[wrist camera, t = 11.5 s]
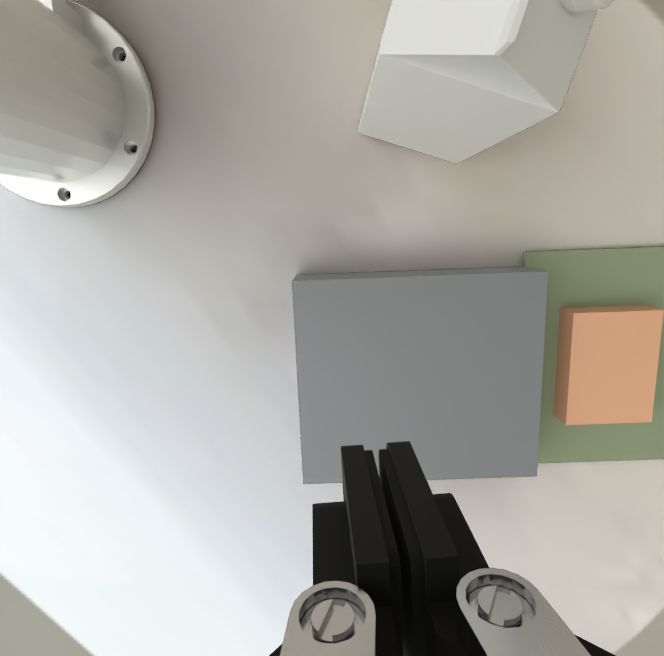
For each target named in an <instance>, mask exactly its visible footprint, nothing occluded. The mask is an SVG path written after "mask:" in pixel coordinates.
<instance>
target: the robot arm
mask: <svg viewBox="0 0 664 656" xmlns="http://www.w3.org/2000/svg"><path fill="white" fill-rule="evenodd" d="M125 55H126V59H125V60H124V61H123V62H122V57H123V56H125ZM154 125H155V118H154V101H153V96H152V91H151V85H150V82H149V80H148V77H147V75H146V72H145V69H144V67H143V65H142V63H141V61H140V60H139V58H138V56H137V55H136V53H135V51H134V49H133V48H132V47H131V45H130V44H129V43H128V42H127V41H126V40H125V38H124V37H123V36H122V35H121V34H120V33H119V32H118V31H117V30H116V29H115V28H114V27H113V26H112V25H111V24H110V23H108V22H107V21H106V20H105V19H104V18H102V17H101V16H99V15H98V14H96V13H95V12H94V11H92V10H91V9H89V8H87V7H85V6H83V5H81V4H78V3H76V2H74V1H72V0H0V184H1V185H2V186H3V187H5V188H6V189H7V190H9V191H10V192H12V193H14V194H16V195H18V196H20V197H22V198H24V199H26V200H29V201H32V202H36V203H39V204H42V205H48V206H56V207H81V206H86V205H91V204H95V203H98V202H100V201H102V200H105V199H107V198H109V197H111V196H113V195H114V194H115V193H117V192H118V191H120V190H121V189H123V188H124V187H125V186H126V185H127V184H128V183H129V182H130V181H131V180H132V179H133V178H134V176H135V175H136V174H137V172H138V171H139V169H140V168H141V166H142V164H143V163H144V161H145V159H146V156H147V154H148V151H149V148H150V145H151V143H152V137H153V131H154ZM134 146H137V151H136V153H134V152H133V147H134ZM69 192H70V193H71V197H70V198H69V196H68V193H69ZM341 462H342V479H343V495H344V502H331V503H318V504H313V586H311V587H310V588H308V589H307V590H305V591H304V592H302V593H301V594H300V596H299V597H298V598H297V599H296V600H295V601H294V604H293V606H292V608H291V611H290V614H289V618H288V623H287V627H286V631H285V636H284V640H283V644H281V645H280V646H279V647H278V648H277V649H276V650H275V651H274V652H273V653H272V654H271V655H269V656H615V655H613V654H611V653H609V652H607V651H605V650H604V649H602V648H600V647H598V646H596V645H594V644H592V643H590V642H588V641H586V640H584V639H582V638H580V637H578V636H576V635H574V634H573V633H572V631H571V630H570V629H569V628H568V626H567V625H566V624H565V623H564V621H563V620H562V619H561V618H560V616H559V615H558V614H557V613H556V611H555V610H554V609H553V608H552V607H551V605H550V604H549V603H548V602H547V600H546V599H545V598H544V597H543V595H542V594H541V593H540V592H539V590H538V589H537V588H536V587H534V586H533V585H532V584H531V583H530V582H529V581H528V580H526V579H524V578H523V577H521V576H519V575H518V574H515V573H512V572H510V571H507V570H503V569H496V568H489V566H488V564H487V562H486V560H485V558H484V556H483V554H482V552H481V550H480V548H479V546H478V544H477V542H476V540H475V538H474V536H473V534H472V532H471V530H470V528H469V526H468V524H467V522H466V520H465V518H464V516H463V514H462V512H461V510H460V508H459V506H458V504H457V502H456V500H455V498H454V497H453V495H452V494H450V493H445V494H432V492H431V489H430V487H429V485H428V482H427V480H426V478H425V475H424V473H423V471H422V468H421V466H420V464H419V461H418V459H417V457H416V454H415V452H414V450H413V447H412V445H411V443H410V441H403V442H390V443H387V444H386V449H379V474H378V470H377V466H376V462H375V459H374V455H373V451H372V450H364V447H363V445H350V446H341Z"/></svg>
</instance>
